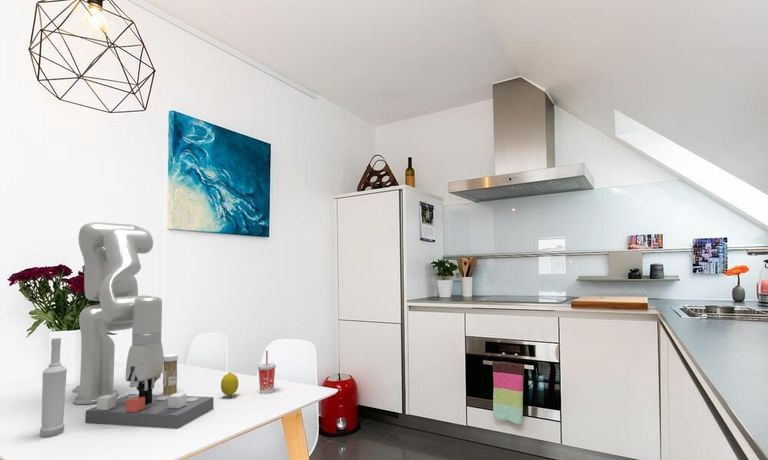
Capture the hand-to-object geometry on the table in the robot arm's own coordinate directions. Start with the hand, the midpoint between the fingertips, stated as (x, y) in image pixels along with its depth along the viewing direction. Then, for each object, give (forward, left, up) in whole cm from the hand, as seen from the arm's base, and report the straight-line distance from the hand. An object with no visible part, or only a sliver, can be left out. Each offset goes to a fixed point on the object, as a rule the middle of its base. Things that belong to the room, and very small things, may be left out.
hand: (145, 403), depth 122 cm
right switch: (+10, +1, -1) cm, 10 cm away
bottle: (-17, -13, -5) cm, 22 cm away
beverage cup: (+23, +30, -5) cm, 38 cm away
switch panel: (0, +3, -4) cm, 5 cm away
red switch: (0, -3, -1) cm, 4 cm away
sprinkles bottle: (-10, +23, -5) cm, 25 cm away
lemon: (+13, +23, -5) cm, 27 cm away
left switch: (-10, -3, -1) cm, 11 cm away
